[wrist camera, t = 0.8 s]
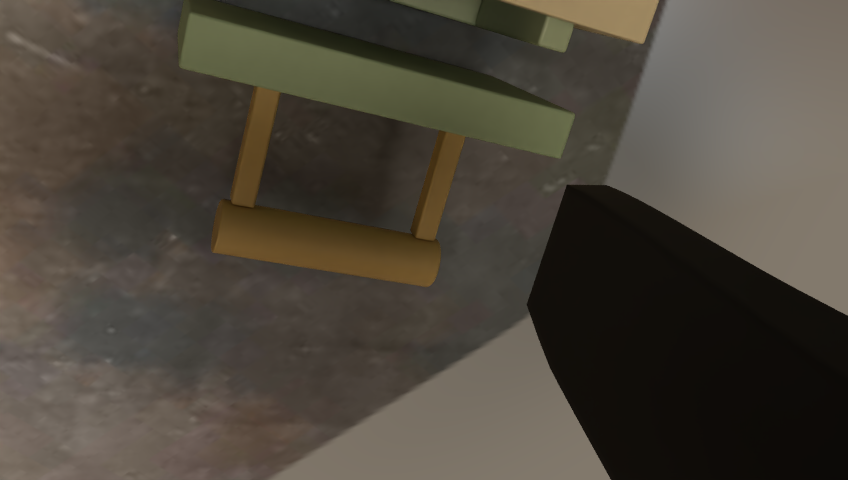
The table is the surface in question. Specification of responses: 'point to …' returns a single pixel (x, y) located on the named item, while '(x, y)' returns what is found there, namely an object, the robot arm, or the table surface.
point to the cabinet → (599, 15)
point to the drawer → (372, 93)
